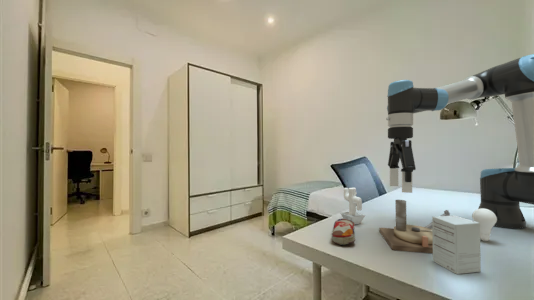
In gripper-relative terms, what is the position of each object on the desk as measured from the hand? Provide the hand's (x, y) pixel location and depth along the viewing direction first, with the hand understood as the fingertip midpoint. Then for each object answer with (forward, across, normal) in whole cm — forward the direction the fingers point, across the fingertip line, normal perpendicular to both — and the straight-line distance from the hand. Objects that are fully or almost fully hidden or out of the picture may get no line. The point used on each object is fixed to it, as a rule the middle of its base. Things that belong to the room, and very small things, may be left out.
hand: (400, 189), depth 80 cm
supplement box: (+18, +16, +9) cm, 26 cm away
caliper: (+18, -17, +18) cm, 31 cm away
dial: (+16, 0, +5) cm, 17 cm away
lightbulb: (+18, -6, +28) cm, 34 cm away
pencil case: (+18, -1, -18) cm, 26 cm away
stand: (+18, 0, +5) cm, 18 cm away
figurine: (+18, -18, -13) cm, 29 cm away
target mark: (+16, +7, +5) cm, 18 cm away
